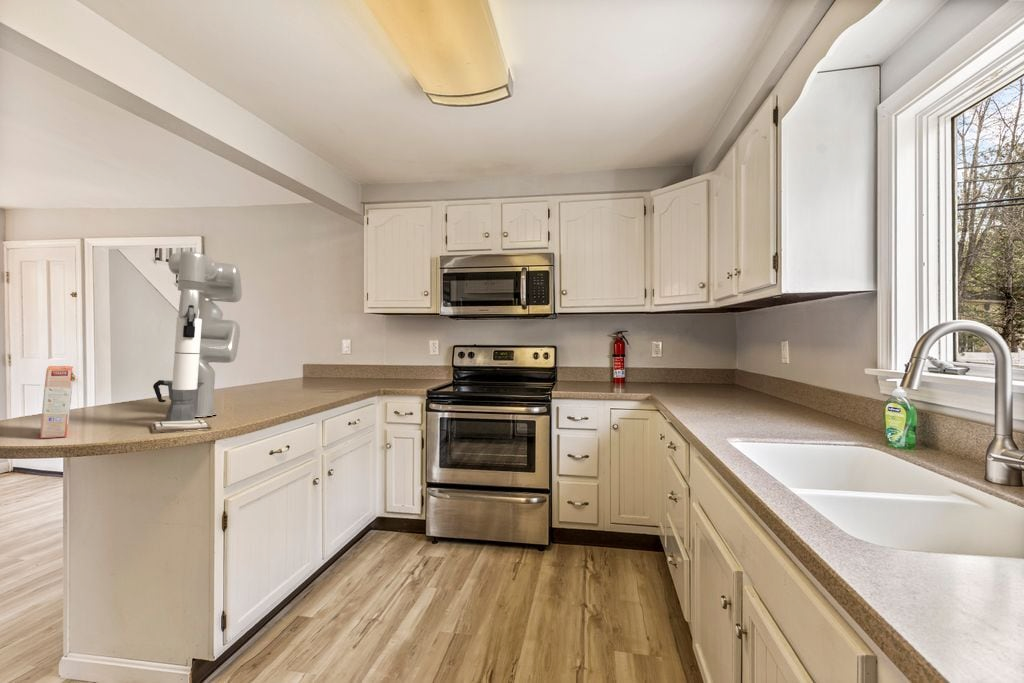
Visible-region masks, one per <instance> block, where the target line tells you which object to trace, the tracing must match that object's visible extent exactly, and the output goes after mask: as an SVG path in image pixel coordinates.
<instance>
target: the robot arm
mask: <svg viewBox="0 0 1024 683" xmlns="http://www.w3.org/2000/svg"><path fill="white" fill-rule="evenodd" d="M167 265H168V268H169V270H170V272H171V273H172V274H173V275H177V276H178V277H177V278H178V281H177V291H180V296H179V304H178V306H179V307H178V315H177V317H180V318H182V317H185V326H184V328H183V337H189V338H194V336H195V319H196V318H198V319H202V325H201V340H200V353H199V369H198V382H203V383H204V384H202V385H201V386H200V388H199V389H198V390H197V392H196V393H195V397H194V399H193V400H192V404H193V407H194V414H195V416H206V415H213V414H216V413H217V414H218V412H216V411H214V410H213V409H214V396H215V381H216V372H215V369H214V368H213V367H212V366H211V364H209V363H218V364H219V363H223V364H226V363H230V364H231V363H232V362H234V361H235V360H236V358H237V354H238V348H239V342H240V336H241V329H240V324H239V323H238V322H237V321H235V320H231V319H223V316H224V314H223V311H222V309H221V308H220V307H219V306H218V305H217V304H216V303H215V302H223V303H224V302H225V303H238V302H239V301H241V299H242V296H243V291H242V281H241V280H242V278H241V274H240V270H239V268H238V266H237V265H235V264H232V263H225V262H223V263H222V262H215V260H214V259H213V258H212V257H209V256H205V254H203V253H200V252H196V251H189V250H188V251H186V250H185V251H182V252H181V253H178V252H177V253H176V252H175V253H172V254H171V255H170V256H169V258H168V262H167Z"/></svg>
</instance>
